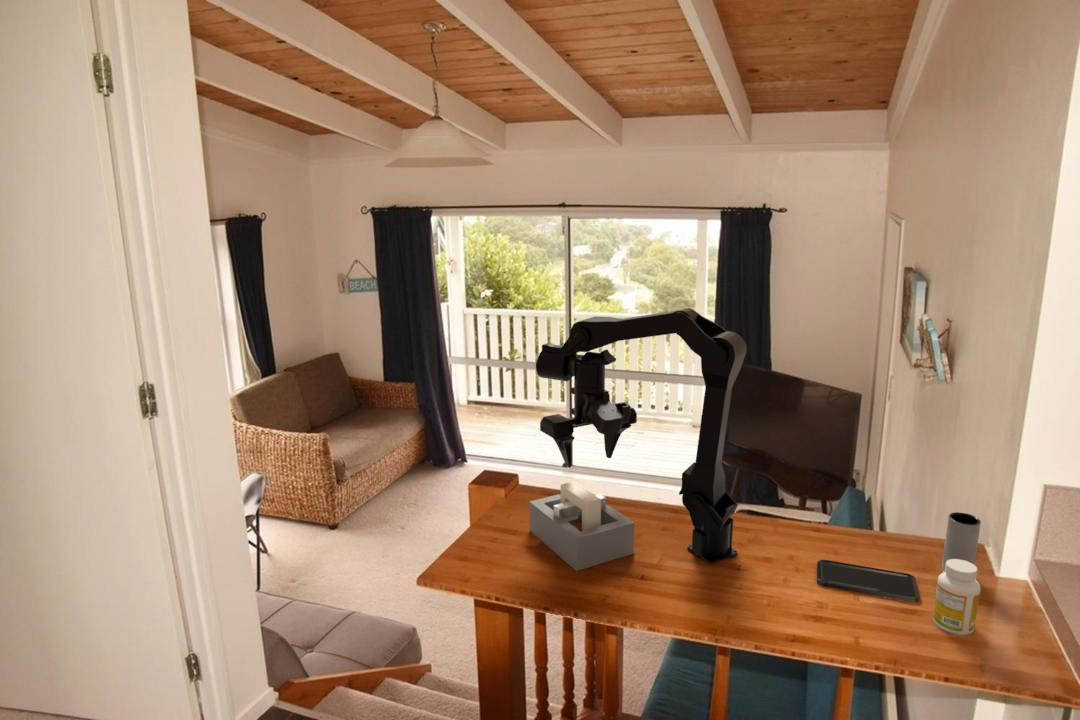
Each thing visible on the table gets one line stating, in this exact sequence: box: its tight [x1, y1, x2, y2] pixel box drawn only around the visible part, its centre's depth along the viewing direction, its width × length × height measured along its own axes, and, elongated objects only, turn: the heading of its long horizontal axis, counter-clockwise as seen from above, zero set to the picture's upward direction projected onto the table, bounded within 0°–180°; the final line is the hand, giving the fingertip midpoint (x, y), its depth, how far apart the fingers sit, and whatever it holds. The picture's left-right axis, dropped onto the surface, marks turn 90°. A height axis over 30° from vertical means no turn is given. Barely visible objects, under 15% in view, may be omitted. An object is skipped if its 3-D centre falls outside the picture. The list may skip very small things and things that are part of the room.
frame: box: [528, 493, 635, 572], centre depth 129 cm, size 12×17×6 cm
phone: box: [816, 559, 920, 603], centre depth 115 cm, size 8×1×15 cm
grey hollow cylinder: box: [941, 512, 982, 574], centre depth 116 cm, size 4×4×10 cm
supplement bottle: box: [932, 559, 981, 636], centre depth 103 cm, size 5×5×10 cm
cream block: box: [560, 480, 601, 531], centre depth 128 cm, size 3×9×7 cm, turn 29°
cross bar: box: [554, 493, 607, 520], centre depth 128 cm, size 10×2×2 cm, turn 119°
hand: (589, 462), depth 135 cm, fingers open, 9 cm apart
